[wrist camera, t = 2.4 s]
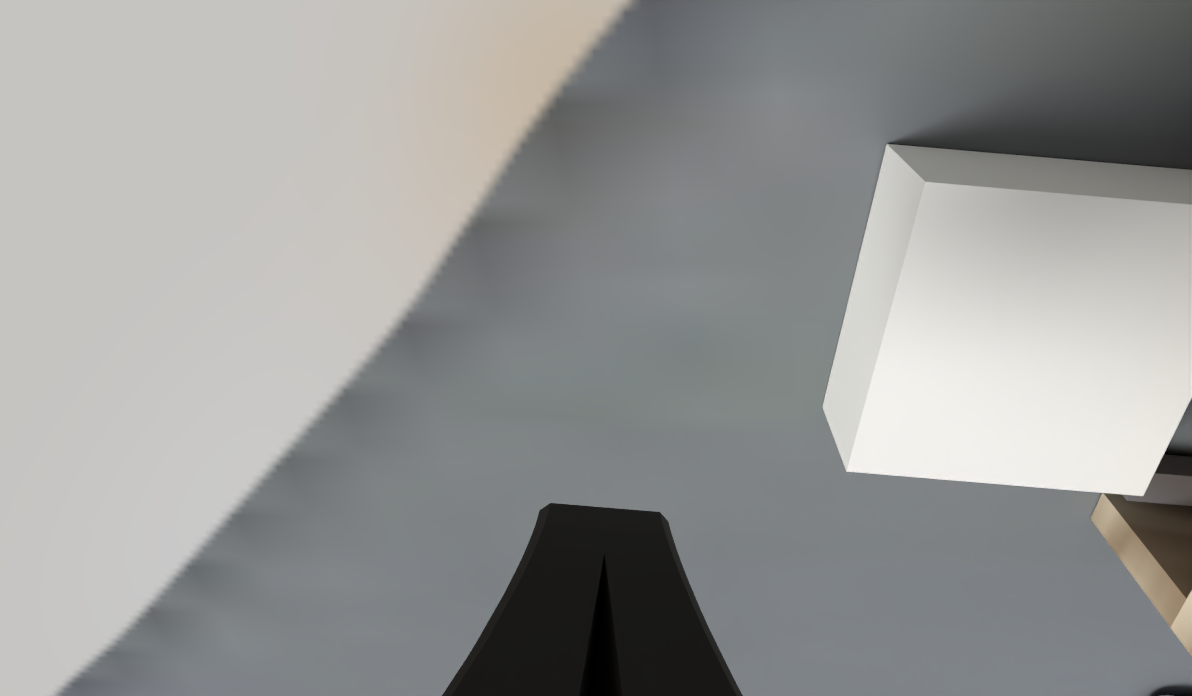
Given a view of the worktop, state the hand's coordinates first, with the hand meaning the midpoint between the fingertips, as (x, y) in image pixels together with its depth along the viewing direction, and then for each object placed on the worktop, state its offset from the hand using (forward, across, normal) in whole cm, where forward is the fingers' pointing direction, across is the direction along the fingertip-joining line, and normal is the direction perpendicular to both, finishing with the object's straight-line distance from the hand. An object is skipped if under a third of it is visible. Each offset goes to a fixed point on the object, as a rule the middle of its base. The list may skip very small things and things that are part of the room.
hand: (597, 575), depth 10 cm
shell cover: (+9, -8, 0) cm, 12 cm away
